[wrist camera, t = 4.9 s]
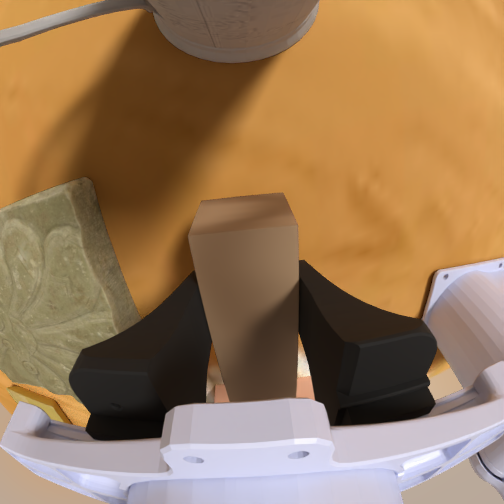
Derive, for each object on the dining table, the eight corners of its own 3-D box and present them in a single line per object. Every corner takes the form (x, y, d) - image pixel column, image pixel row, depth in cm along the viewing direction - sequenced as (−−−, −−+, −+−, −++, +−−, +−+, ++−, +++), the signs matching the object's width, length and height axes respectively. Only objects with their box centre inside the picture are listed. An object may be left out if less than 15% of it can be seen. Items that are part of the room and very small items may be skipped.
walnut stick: (283, 192, 12) (298, 224, 9) (288, 372, 18) (295, 416, 15) (201, 200, 12) (187, 235, 9) (235, 377, 18) (235, 421, 15)
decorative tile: (-49, 232, 15) (-71, 248, 12) (93, 169, 14) (61, 184, 11) (29, 375, 24) (17, 396, 20) (178, 384, 23) (172, 417, 20)
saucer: (36, 412, 28) (32, 423, 26) (10, 376, 24) (4, 387, 22) (82, 429, 28) (78, 440, 27) (58, 394, 25) (52, 407, 23)
